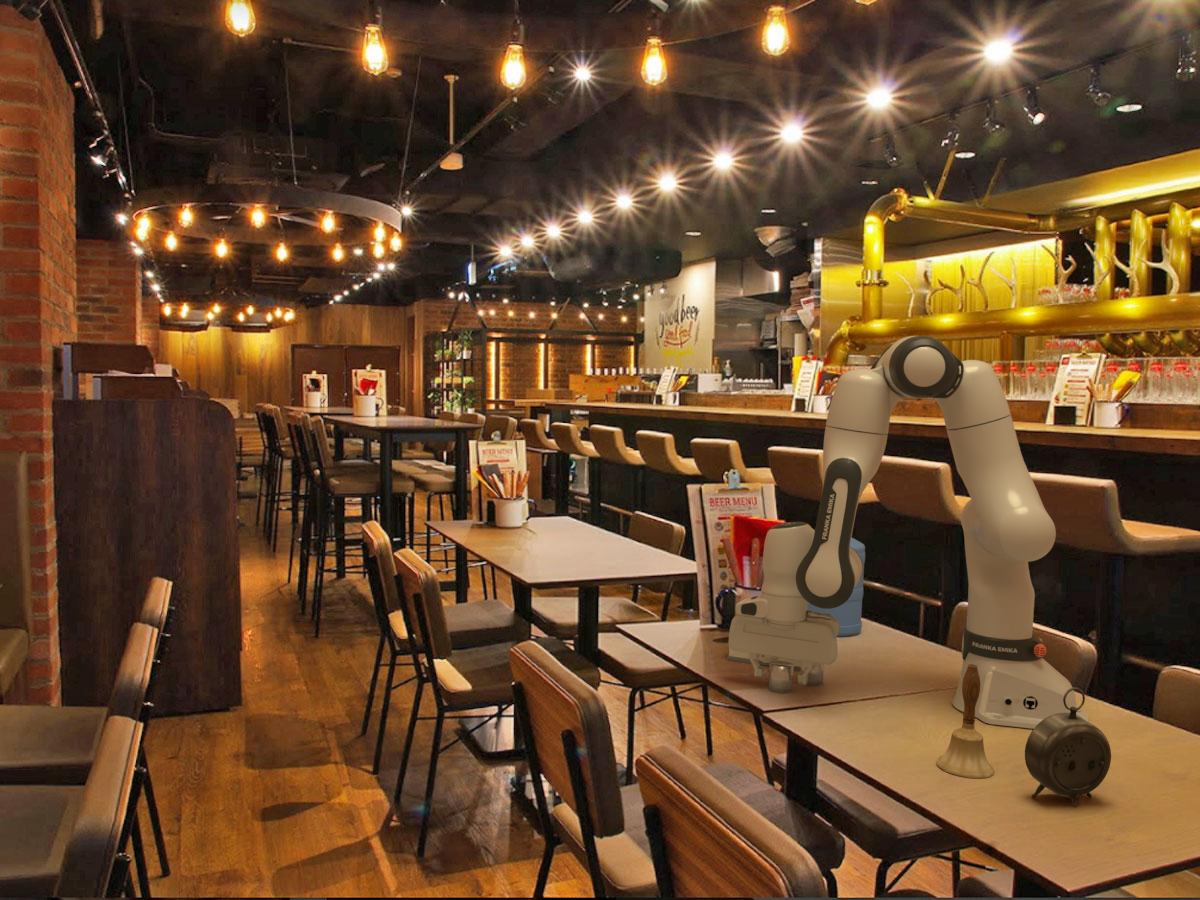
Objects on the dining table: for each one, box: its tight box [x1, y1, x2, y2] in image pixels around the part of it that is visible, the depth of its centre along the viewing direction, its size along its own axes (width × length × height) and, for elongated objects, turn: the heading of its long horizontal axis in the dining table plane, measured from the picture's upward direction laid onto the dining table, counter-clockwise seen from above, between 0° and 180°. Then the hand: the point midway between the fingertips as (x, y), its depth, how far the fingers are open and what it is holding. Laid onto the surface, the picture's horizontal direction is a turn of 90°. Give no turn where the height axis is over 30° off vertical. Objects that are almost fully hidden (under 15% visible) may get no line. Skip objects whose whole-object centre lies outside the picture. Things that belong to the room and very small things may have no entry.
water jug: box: [808, 537, 866, 638], centre depth 237 cm, size 16×16×28 cm
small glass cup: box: [799, 661, 825, 687], centre depth 193 cm, size 4×4×5 cm
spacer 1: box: [768, 661, 794, 695], centre depth 188 cm, size 4×4×5 cm
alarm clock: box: [1024, 686, 1112, 808], centre depth 139 cm, size 11×5×16 cm, turn 99°
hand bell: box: [936, 664, 995, 779], centre depth 151 cm, size 8×8×16 cm
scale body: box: [726, 645, 801, 672], centre depth 209 cm, size 17×13×6 cm
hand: (780, 680), depth 188 cm, fingers open, 7 cm apart
